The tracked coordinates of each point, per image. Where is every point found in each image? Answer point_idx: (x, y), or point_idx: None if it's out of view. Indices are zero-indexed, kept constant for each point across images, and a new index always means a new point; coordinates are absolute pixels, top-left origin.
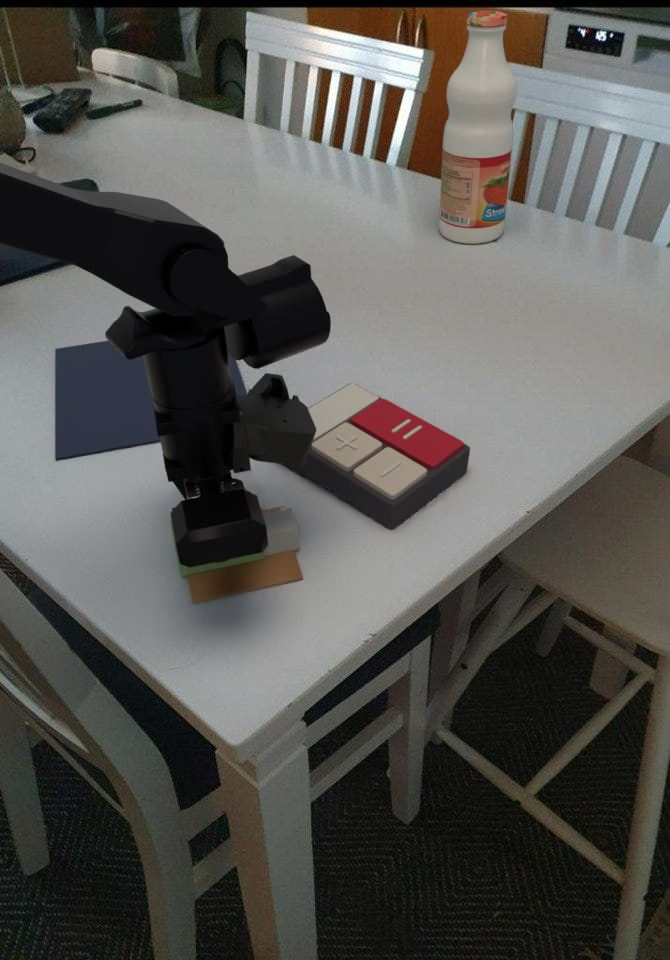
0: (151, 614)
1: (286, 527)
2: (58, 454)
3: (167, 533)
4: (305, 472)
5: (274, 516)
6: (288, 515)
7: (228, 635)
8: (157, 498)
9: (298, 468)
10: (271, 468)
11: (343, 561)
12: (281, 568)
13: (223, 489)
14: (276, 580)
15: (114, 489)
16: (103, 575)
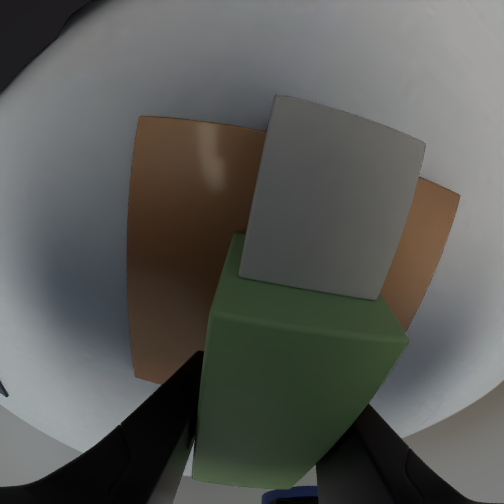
0: None
1: (399, 187)
2: (1, 392)
3: (142, 388)
4: (60, 18)
5: (295, 202)
6: (329, 133)
7: (446, 367)
8: (52, 358)
9: (38, 37)
10: (10, 110)
11: (447, 69)
12: (410, 229)
13: (156, 482)
14: (434, 261)
15: (39, 385)
16: None
